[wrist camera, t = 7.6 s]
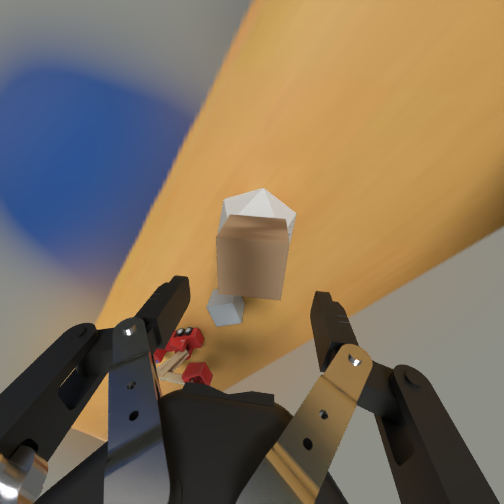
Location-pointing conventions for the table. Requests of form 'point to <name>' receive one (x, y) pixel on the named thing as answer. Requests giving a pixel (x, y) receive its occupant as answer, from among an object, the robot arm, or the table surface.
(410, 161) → the table surface
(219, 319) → the slate block
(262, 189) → the die
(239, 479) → the robot arm
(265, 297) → the walnut block
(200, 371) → the toy fire truck
